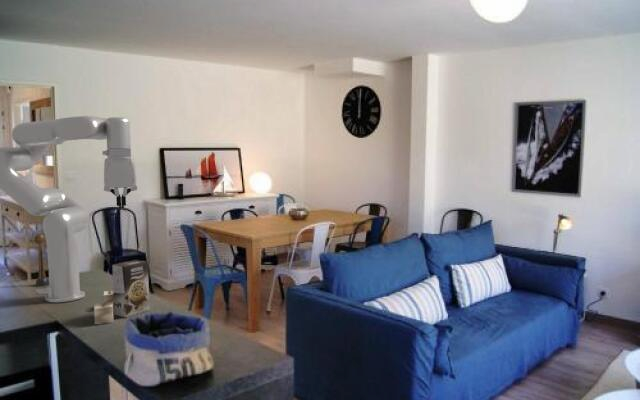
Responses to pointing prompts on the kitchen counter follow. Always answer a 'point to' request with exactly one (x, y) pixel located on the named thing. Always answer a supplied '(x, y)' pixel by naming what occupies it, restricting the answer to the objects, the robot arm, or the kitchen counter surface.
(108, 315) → the marked block front
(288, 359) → the kitchen counter surface
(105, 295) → the marked block back
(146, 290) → the coffee box
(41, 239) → the wooden tabletop sculpture
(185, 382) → the kitchen counter surface
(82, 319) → the kitchen counter surface
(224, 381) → the kitchen counter surface
